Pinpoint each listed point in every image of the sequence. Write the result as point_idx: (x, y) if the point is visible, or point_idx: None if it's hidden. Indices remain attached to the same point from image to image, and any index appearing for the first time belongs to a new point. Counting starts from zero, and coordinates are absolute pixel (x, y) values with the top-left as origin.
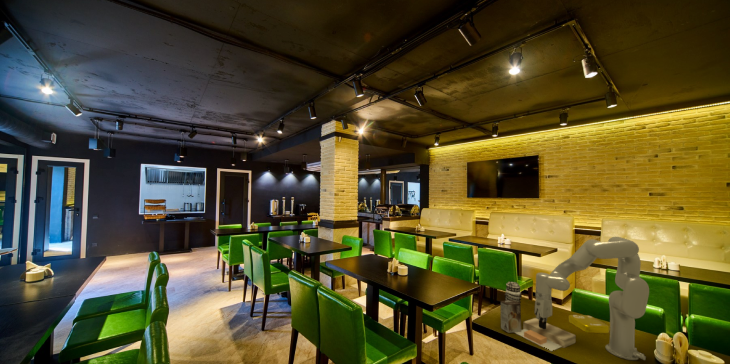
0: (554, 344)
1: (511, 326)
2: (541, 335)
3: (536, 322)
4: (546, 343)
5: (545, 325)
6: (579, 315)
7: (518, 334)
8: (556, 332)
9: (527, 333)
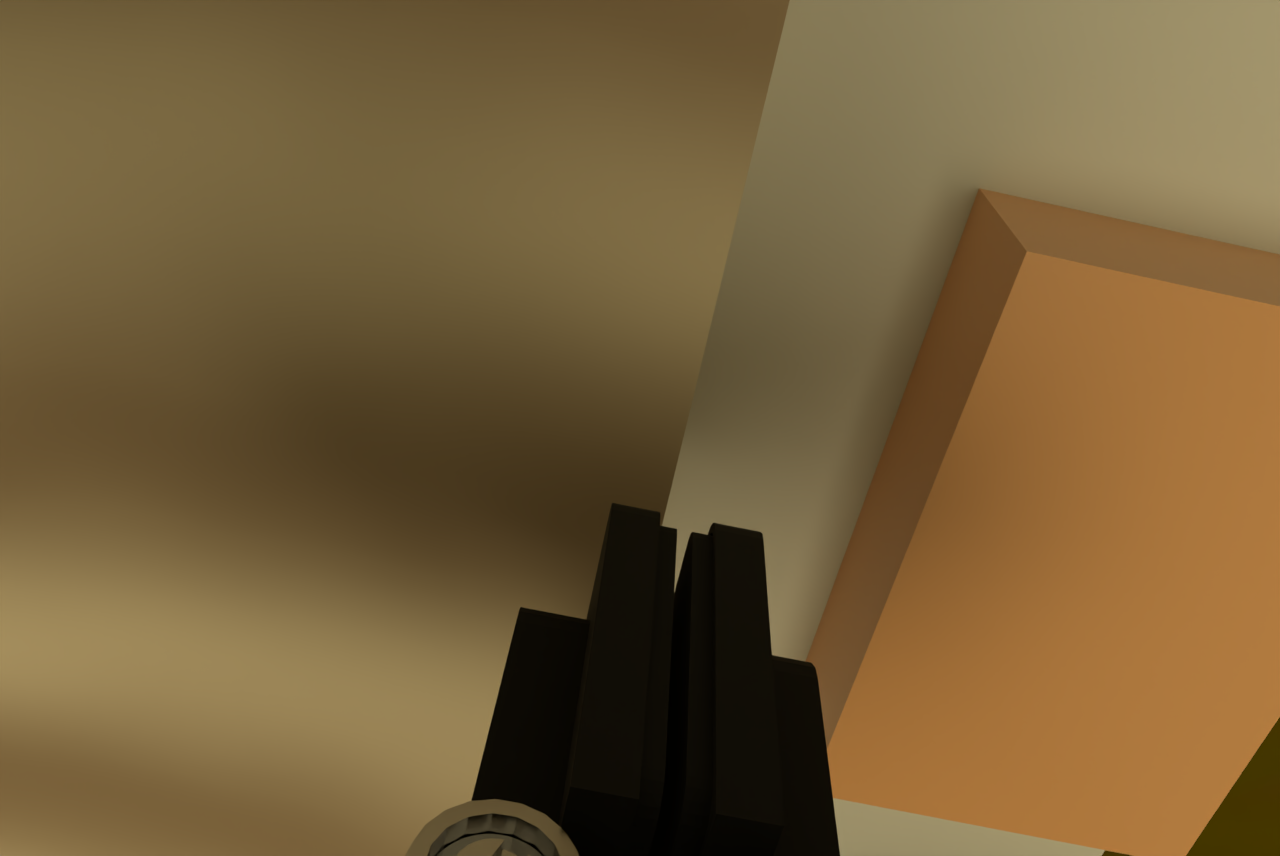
0: None
1: None
2: (985, 448)
3: (132, 840)
4: (1104, 162)
5: (660, 640)
6: None
7: (1101, 852)
8: (238, 66)
9: (1226, 782)
